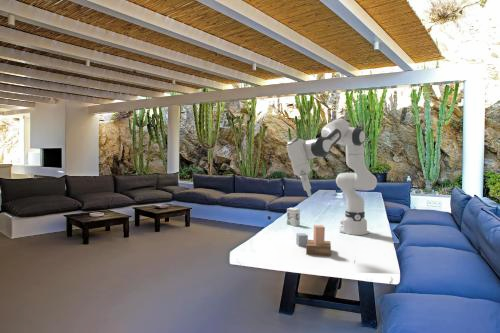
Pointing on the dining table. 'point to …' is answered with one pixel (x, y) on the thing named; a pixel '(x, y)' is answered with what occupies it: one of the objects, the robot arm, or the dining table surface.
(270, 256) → the dining table surface
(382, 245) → the dining table surface
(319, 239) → the terracotta block
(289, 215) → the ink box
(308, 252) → the walnut block
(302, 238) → the slate grey block
